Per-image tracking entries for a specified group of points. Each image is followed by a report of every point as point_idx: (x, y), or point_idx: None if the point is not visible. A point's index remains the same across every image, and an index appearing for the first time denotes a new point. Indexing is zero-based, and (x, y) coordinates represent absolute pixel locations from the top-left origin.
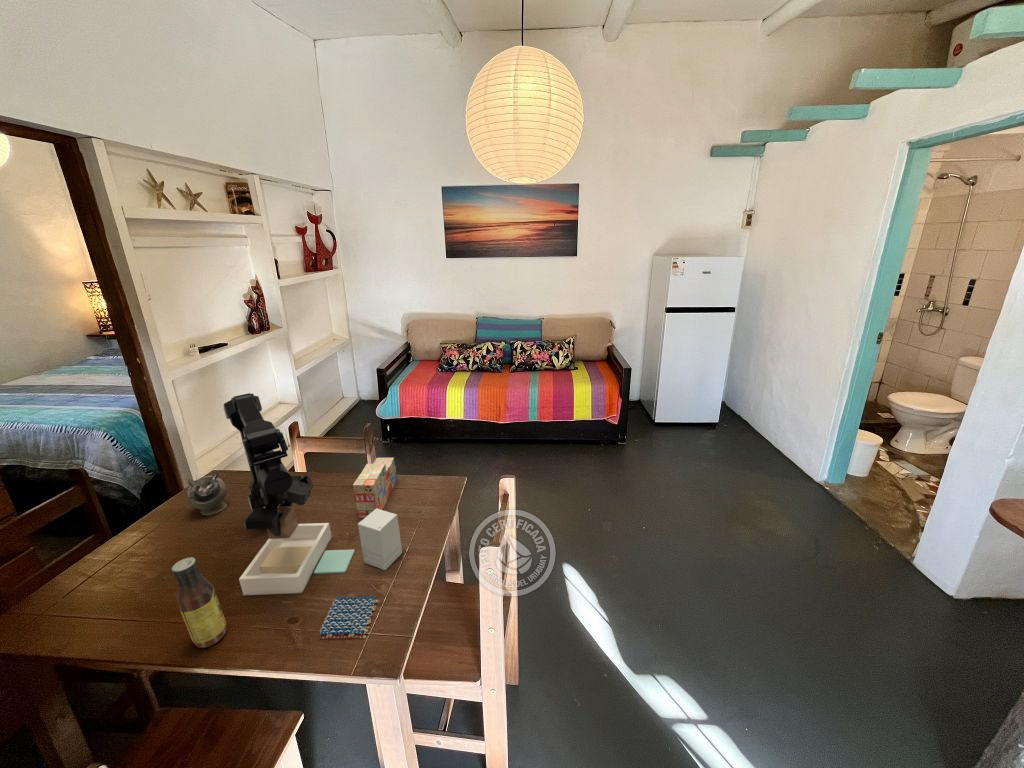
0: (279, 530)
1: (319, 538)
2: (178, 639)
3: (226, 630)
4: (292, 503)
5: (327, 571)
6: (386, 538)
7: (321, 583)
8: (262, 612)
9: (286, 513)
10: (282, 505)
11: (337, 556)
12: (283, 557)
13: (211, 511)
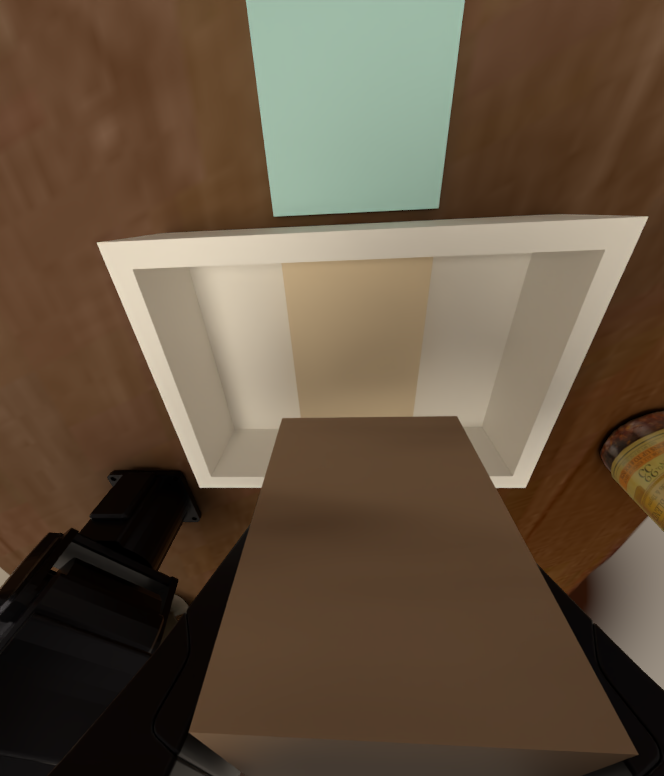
0: None
1: (265, 239)
2: (604, 499)
3: (652, 413)
4: (118, 713)
5: (447, 111)
6: None
7: (520, 120)
8: (606, 340)
9: (444, 751)
10: (217, 768)
11: (317, 98)
12: (363, 389)
13: (174, 605)
